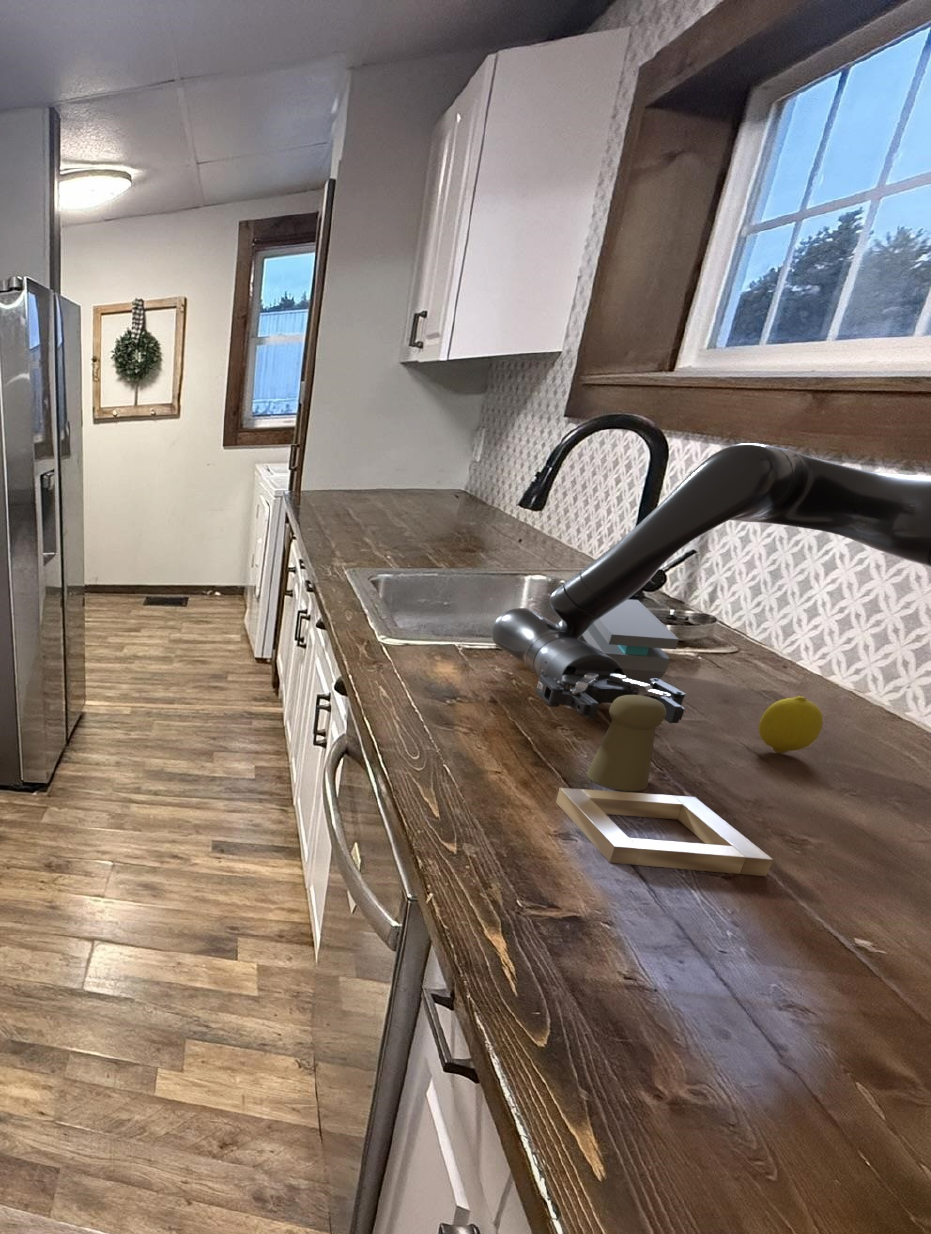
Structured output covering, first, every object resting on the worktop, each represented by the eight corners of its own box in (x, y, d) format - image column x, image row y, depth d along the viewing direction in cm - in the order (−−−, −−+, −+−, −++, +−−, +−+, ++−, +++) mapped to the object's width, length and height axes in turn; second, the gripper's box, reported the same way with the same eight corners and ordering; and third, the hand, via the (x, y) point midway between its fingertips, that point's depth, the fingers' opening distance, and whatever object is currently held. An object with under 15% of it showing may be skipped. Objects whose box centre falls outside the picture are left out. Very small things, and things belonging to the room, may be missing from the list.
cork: (656, 793, 93) (684, 709, 89) (595, 787, 95) (620, 705, 91) (636, 772, 98) (661, 691, 94) (579, 767, 100) (601, 688, 96)
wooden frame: (689, 811, 89) (695, 796, 88) (766, 876, 77) (773, 859, 76) (555, 802, 92) (559, 787, 92) (609, 862, 81) (614, 846, 80)
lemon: (819, 764, 98) (843, 705, 95) (764, 759, 100) (786, 702, 97) (793, 746, 103) (815, 690, 100) (741, 742, 105) (761, 687, 102)
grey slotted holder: (657, 708, 117) (679, 639, 113) (592, 701, 120) (611, 634, 116) (620, 660, 137) (638, 600, 133) (566, 655, 140) (581, 597, 136)
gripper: (523, 643, 108) (575, 682, 94) (643, 646, 105) (716, 687, 90) (511, 693, 111) (559, 738, 97) (628, 698, 108) (696, 745, 93)
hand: (635, 714), depth 93 cm, fingers open, 8 cm apart
